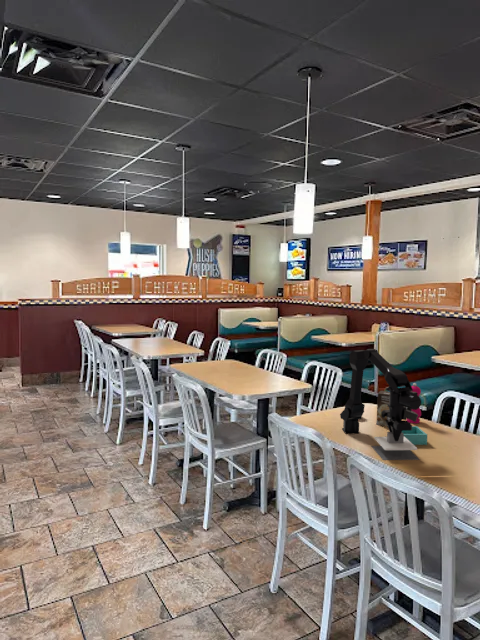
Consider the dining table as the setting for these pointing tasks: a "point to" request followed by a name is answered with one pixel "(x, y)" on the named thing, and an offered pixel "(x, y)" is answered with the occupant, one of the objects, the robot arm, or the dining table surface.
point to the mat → (394, 454)
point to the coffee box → (382, 406)
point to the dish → (416, 436)
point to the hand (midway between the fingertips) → (395, 440)
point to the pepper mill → (418, 411)
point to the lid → (395, 442)
